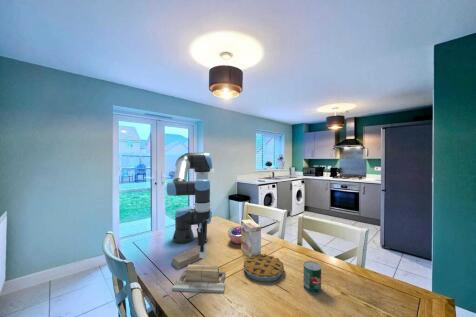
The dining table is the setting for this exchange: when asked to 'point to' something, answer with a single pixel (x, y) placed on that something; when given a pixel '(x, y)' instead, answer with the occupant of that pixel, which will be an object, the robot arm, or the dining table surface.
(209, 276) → the plank
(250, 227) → the coffeecake box
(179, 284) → the floor panel
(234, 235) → the cell model
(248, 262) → the pie
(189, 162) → the robot arm
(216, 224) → the dining table surface
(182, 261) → the brick
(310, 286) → the canned tomato
